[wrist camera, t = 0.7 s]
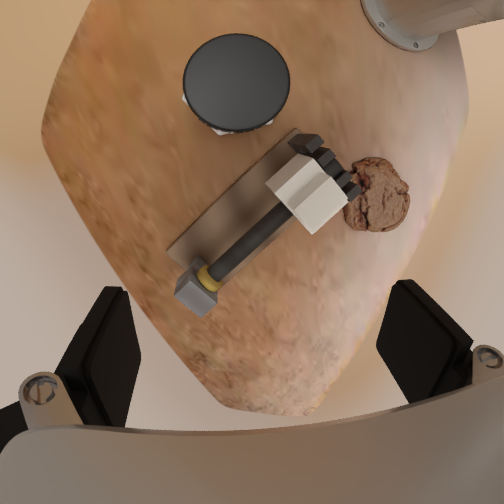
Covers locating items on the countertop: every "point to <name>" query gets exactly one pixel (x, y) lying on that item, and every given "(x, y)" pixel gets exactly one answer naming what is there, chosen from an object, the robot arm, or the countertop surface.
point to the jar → (236, 83)
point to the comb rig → (244, 222)
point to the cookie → (377, 197)
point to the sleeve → (307, 192)
